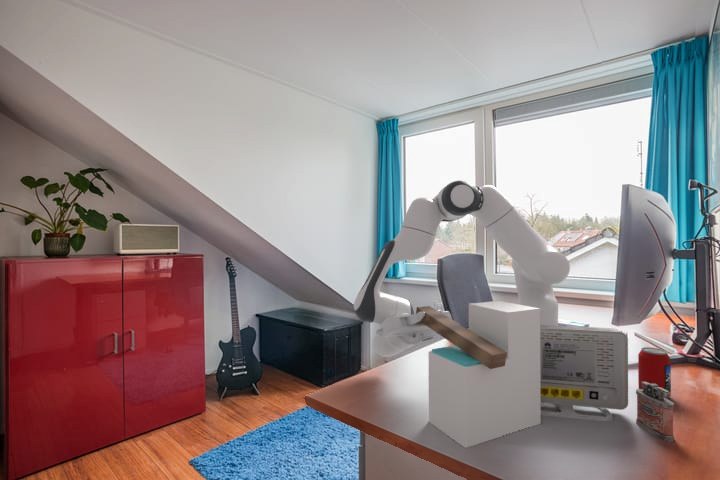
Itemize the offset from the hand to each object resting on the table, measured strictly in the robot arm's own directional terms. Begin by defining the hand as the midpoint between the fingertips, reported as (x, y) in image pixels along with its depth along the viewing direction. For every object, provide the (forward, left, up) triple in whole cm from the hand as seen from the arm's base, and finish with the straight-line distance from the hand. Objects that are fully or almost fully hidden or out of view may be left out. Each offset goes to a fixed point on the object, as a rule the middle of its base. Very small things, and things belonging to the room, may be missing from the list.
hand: (432, 313), depth 92 cm
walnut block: (-3, +8, -4) cm, 9 cm away
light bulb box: (-66, -36, -23) cm, 79 cm away
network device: (-31, +7, -23) cm, 40 cm away
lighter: (-43, +19, -23) cm, 53 cm away
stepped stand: (-9, +10, -23) cm, 27 cm away
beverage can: (-60, +3, -23) cm, 65 cm away
